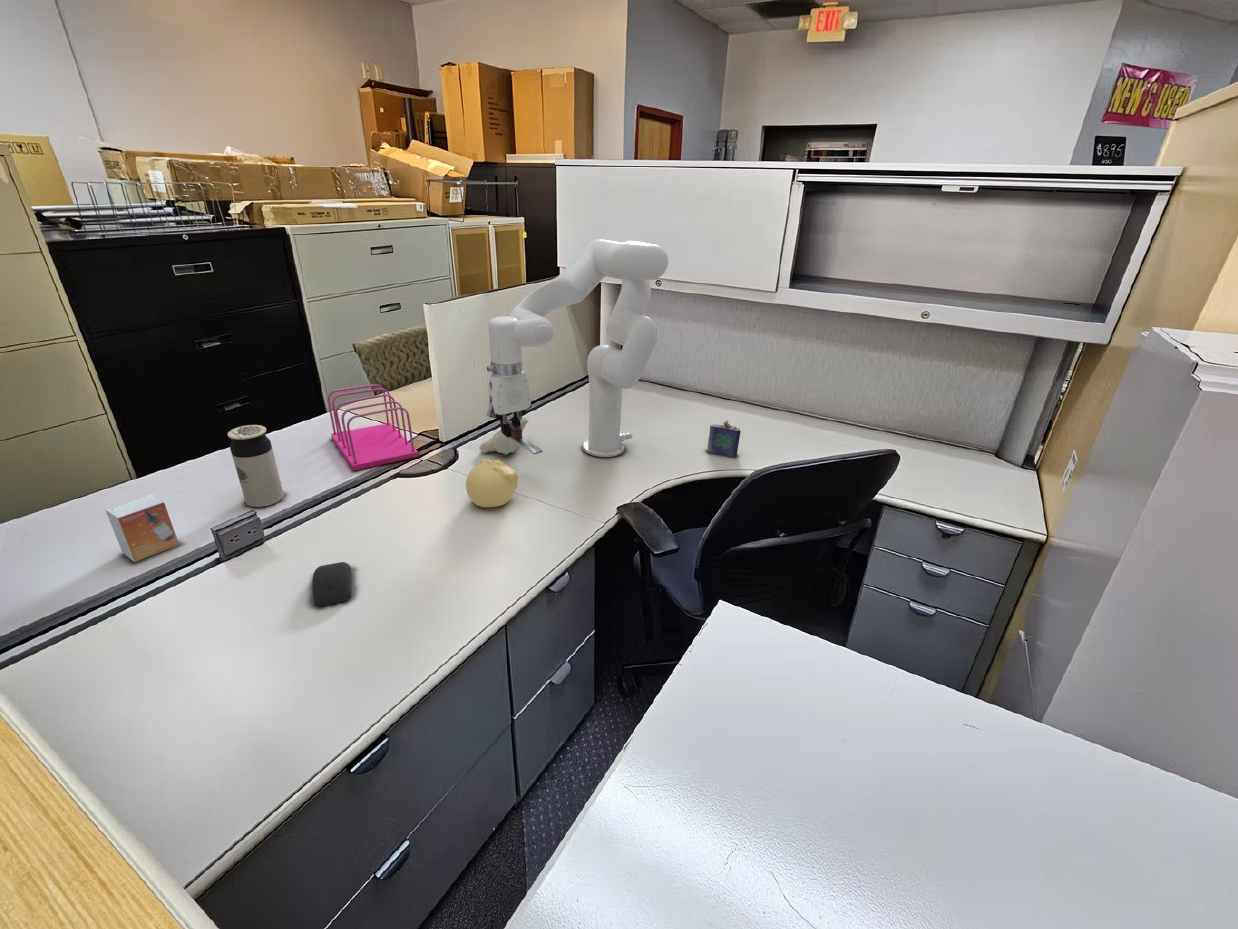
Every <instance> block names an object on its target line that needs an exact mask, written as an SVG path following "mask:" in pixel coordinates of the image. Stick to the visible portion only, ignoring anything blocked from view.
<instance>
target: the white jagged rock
mask: <svg viewBox="0 0 1238 929" xmlns="http://www.w3.org/2000/svg"><path fill="white" fill-rule="evenodd" d="M528 423H529V419H528V417H527V416H525V417H524V416H523V417H522V420H520V424H521V428H522V432H523V431H524V429H525V428H526V425H527V424H528ZM520 446H521V445H520V444H518V443H517V442H515V441H514V440H513V439H512V438H511V437H506V436H505V435H504V434H503V433H502V432H501V429H499V430H498V431H496V432H495V433H494V434H493V436H492V437H491V438H489V439H487V440H486V441H484V442H483V443H481V444H480V445H479V447H478V449H479V450H480V452H482V453H485V454H486V453H489V452H497V453H500V454H504V455H505V456H506V455H509V454H510V453H512V454H515V451H516V450H517V449H518V448H519V447H520Z"/></svg>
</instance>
